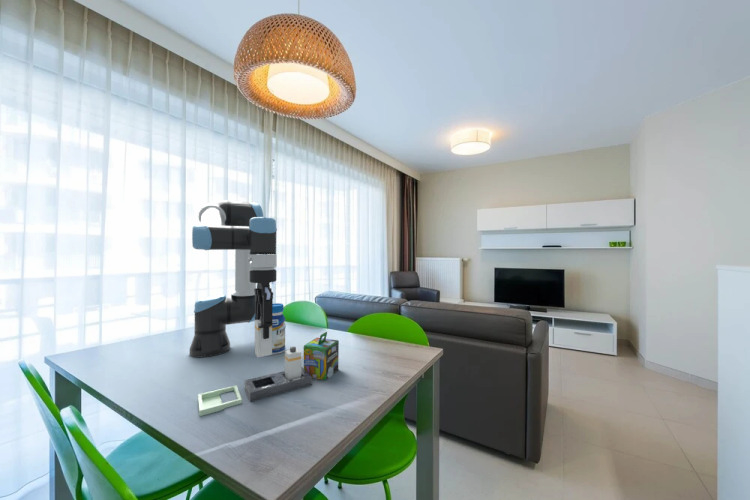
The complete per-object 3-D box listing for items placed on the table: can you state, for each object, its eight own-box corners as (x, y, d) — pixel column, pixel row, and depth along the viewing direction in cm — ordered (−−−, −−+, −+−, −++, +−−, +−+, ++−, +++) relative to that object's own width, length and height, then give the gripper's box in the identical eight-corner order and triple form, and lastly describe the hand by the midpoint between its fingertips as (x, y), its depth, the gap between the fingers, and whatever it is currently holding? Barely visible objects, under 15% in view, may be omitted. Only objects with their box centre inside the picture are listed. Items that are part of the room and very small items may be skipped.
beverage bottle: (270, 347, 126) (270, 302, 126) (288, 348, 125) (288, 303, 125) (260, 354, 118) (260, 306, 118) (279, 355, 117) (279, 306, 117)
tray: (198, 401, 81) (198, 394, 81) (236, 391, 87) (236, 385, 87) (199, 418, 73) (199, 410, 73) (242, 406, 79) (241, 399, 79)
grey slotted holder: (244, 391, 87) (244, 380, 87) (301, 377, 97) (301, 366, 97) (250, 405, 79) (250, 392, 79) (311, 387, 89) (311, 376, 89)
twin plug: (284, 382, 91) (284, 347, 91) (297, 378, 93) (297, 344, 93) (288, 387, 88) (288, 350, 88) (301, 383, 90) (301, 348, 90)
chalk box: (316, 368, 104) (316, 328, 104) (339, 372, 101) (339, 330, 101) (302, 379, 95) (302, 335, 95) (326, 383, 92) (326, 338, 92)
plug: (254, 353, 86) (254, 316, 86) (268, 350, 88) (268, 314, 88) (257, 357, 83) (257, 318, 83) (272, 354, 85) (271, 316, 85)
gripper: (244, 268, 91) (244, 341, 90) (255, 270, 76) (256, 358, 76) (269, 267, 95) (269, 337, 95) (284, 269, 81) (284, 352, 80)
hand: (263, 346), depth 85 cm, fingers closed on plug, 4 cm apart
